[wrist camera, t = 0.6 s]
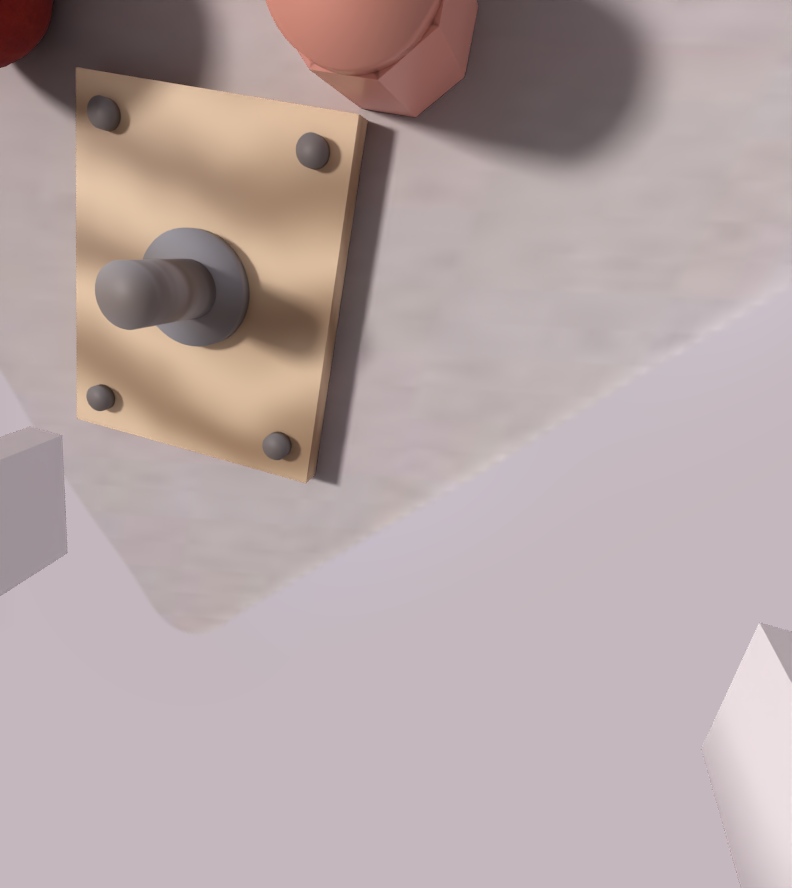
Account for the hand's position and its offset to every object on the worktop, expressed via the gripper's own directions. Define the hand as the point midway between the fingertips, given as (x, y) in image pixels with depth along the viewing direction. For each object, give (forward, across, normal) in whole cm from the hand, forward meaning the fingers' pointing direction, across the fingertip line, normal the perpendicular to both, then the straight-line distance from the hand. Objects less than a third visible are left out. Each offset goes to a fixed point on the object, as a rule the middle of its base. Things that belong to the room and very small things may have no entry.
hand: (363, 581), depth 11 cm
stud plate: (+23, -17, +1) cm, 29 cm away
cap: (+24, -8, +14) cm, 29 cm away
